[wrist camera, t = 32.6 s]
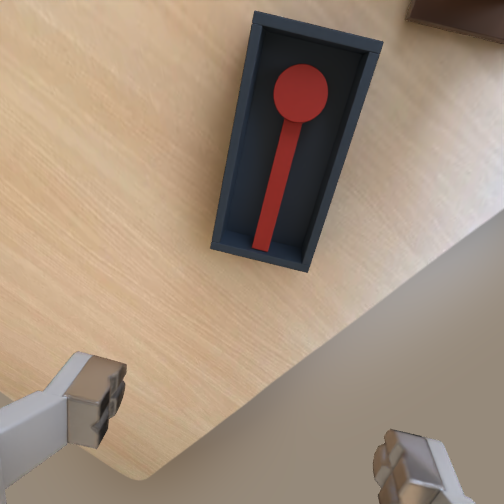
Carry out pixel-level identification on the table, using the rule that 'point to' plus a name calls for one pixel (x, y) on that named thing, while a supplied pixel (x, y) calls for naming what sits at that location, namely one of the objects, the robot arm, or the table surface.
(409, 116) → the table surface
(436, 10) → the stand
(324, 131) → the bin
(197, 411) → the table surface
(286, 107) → the red lever with knob
